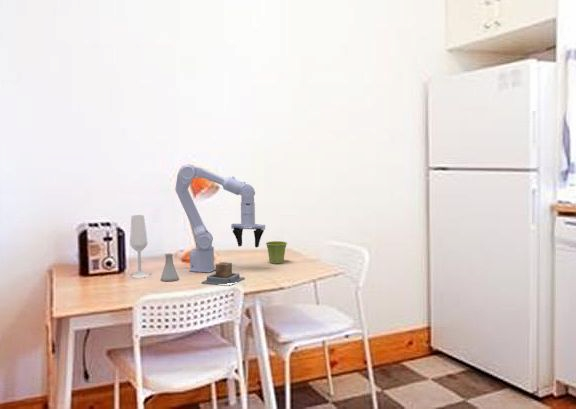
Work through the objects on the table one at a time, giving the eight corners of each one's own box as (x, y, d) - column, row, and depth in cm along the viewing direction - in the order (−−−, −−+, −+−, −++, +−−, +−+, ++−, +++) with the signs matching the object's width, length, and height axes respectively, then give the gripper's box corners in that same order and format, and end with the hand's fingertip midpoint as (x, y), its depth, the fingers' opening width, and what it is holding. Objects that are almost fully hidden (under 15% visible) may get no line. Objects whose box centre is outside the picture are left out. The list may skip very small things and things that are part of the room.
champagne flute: (131, 274, 228) (129, 215, 226) (148, 273, 230) (146, 214, 227) (131, 278, 221) (128, 217, 219) (148, 277, 223) (146, 216, 221)
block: (216, 280, 214) (215, 264, 213) (221, 277, 218) (221, 262, 217) (226, 281, 212) (226, 265, 212) (232, 278, 216) (231, 262, 216)
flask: (162, 282, 213) (162, 256, 212) (158, 278, 220) (157, 253, 219) (181, 280, 217) (180, 254, 216) (176, 276, 223) (175, 251, 222)
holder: (201, 283, 211) (201, 277, 211) (216, 276, 222) (216, 271, 222) (230, 286, 207) (230, 280, 207) (244, 278, 218) (244, 273, 218)
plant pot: (291, 261, 250) (291, 242, 249) (279, 265, 242) (279, 245, 241) (273, 259, 255) (273, 240, 254) (261, 263, 247) (261, 243, 246)
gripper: (227, 214, 233) (228, 247, 234) (260, 215, 227) (260, 249, 229) (235, 212, 239) (235, 244, 240) (267, 213, 234) (267, 246, 235)
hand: (248, 246), depth 235 cm, fingers open, 7 cm apart
